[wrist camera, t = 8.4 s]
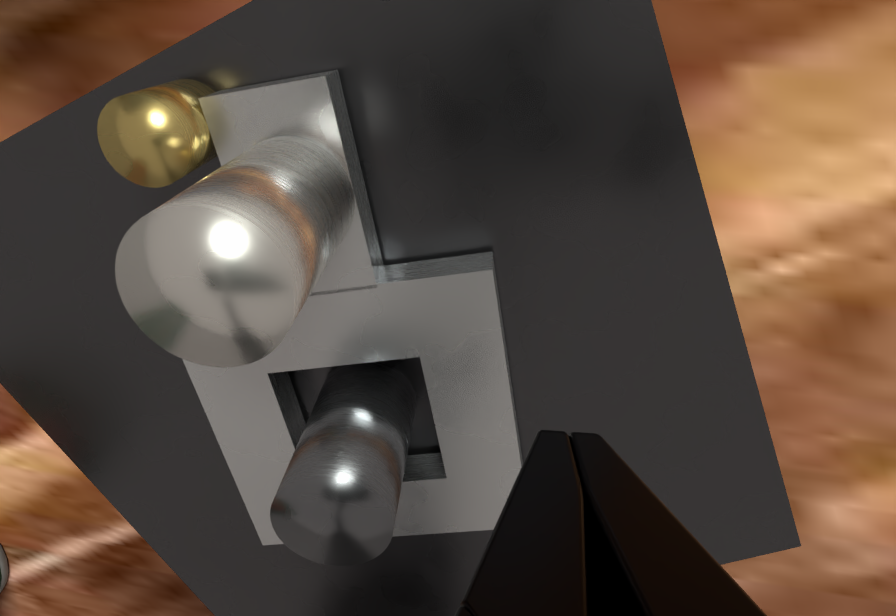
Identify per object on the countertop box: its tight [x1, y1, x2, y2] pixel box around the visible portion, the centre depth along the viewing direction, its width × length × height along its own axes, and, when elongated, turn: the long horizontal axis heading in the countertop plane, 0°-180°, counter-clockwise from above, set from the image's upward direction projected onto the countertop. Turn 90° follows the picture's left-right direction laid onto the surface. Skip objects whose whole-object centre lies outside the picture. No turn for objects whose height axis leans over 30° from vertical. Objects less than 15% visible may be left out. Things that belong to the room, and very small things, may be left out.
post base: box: [0, 0, 801, 616], centre depth 17 cm, size 22×22×6 cm
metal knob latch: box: [115, 70, 523, 545], centre depth 15 cm, size 14×9×6 cm, turn 10°
